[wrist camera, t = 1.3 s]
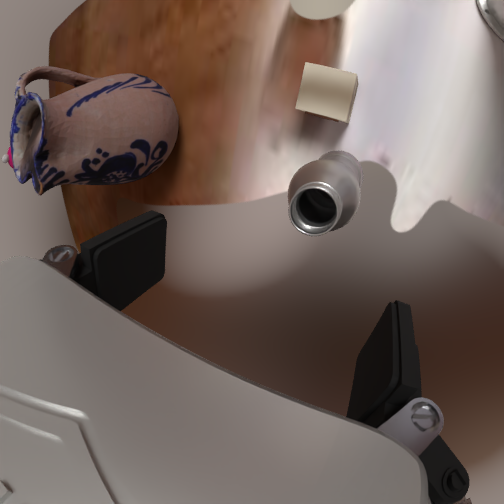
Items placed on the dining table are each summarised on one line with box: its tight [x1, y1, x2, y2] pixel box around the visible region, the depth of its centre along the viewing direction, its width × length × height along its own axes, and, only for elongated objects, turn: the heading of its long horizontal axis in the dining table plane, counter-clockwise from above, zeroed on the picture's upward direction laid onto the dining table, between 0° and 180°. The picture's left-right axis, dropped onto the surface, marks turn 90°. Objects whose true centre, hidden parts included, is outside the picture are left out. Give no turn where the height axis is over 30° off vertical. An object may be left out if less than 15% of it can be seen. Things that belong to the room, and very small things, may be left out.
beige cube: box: [295, 62, 358, 124], centre depth 30 cm, size 6×6×6 cm
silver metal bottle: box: [288, 151, 363, 236], centre depth 28 cm, size 6×7×20 cm
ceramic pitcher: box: [10, 66, 179, 195], centre depth 33 cm, size 18×21×25 cm
